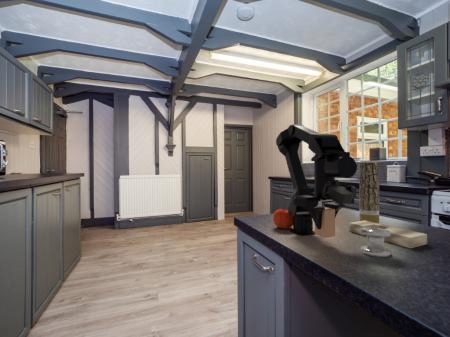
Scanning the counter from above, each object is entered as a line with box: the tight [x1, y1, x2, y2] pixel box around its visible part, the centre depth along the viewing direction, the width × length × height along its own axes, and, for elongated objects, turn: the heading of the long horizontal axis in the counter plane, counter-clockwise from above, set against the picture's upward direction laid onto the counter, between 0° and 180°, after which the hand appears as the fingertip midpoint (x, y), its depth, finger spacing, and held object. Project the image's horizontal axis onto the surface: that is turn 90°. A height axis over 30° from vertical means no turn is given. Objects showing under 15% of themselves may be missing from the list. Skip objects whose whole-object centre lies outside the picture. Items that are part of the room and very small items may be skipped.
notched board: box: [348, 220, 428, 249], centre depth 81 cm, size 20×8×3 cm, turn 24°
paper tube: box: [358, 160, 380, 224], centre depth 98 cm, size 7×7×25 cm
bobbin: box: [360, 227, 392, 258], centre depth 67 cm, size 7×7×6 cm
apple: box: [272, 206, 293, 230], centre depth 94 cm, size 8×8×8 cm
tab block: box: [314, 207, 336, 239], centre depth 74 cm, size 4×4×8 cm
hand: (324, 228), depth 74 cm, fingers closed on tab block, 4 cm apart
